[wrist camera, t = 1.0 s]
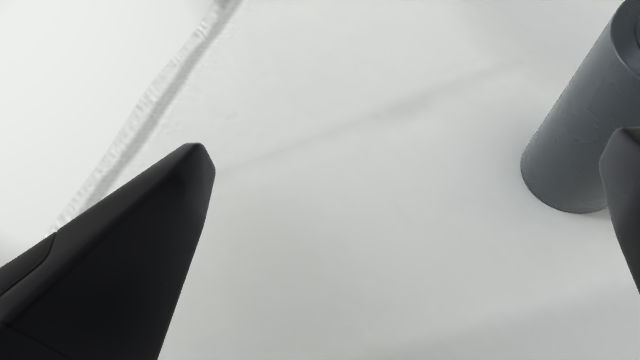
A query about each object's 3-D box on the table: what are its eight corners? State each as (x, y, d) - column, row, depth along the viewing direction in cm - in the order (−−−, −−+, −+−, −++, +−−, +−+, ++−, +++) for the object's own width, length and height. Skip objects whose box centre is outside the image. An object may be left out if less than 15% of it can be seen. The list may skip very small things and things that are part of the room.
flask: (645, 197, 21) (938, 34, 9) (546, 224, 21) (708, 102, 10) (592, 119, 23) (774, -87, 12) (505, 145, 24) (597, -27, 12)
